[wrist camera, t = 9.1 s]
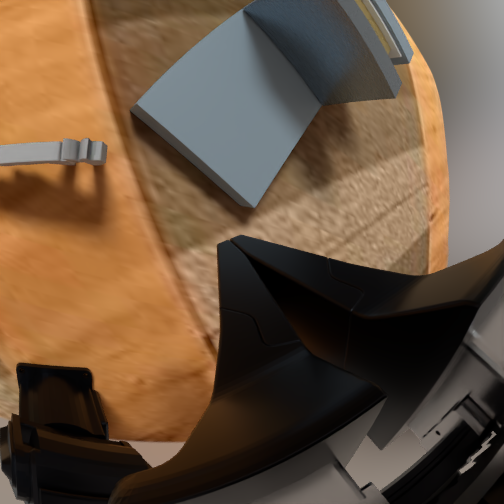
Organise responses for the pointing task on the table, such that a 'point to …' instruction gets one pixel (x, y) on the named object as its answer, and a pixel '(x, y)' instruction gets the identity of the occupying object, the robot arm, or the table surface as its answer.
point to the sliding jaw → (329, 48)
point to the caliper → (54, 153)
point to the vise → (242, 103)
